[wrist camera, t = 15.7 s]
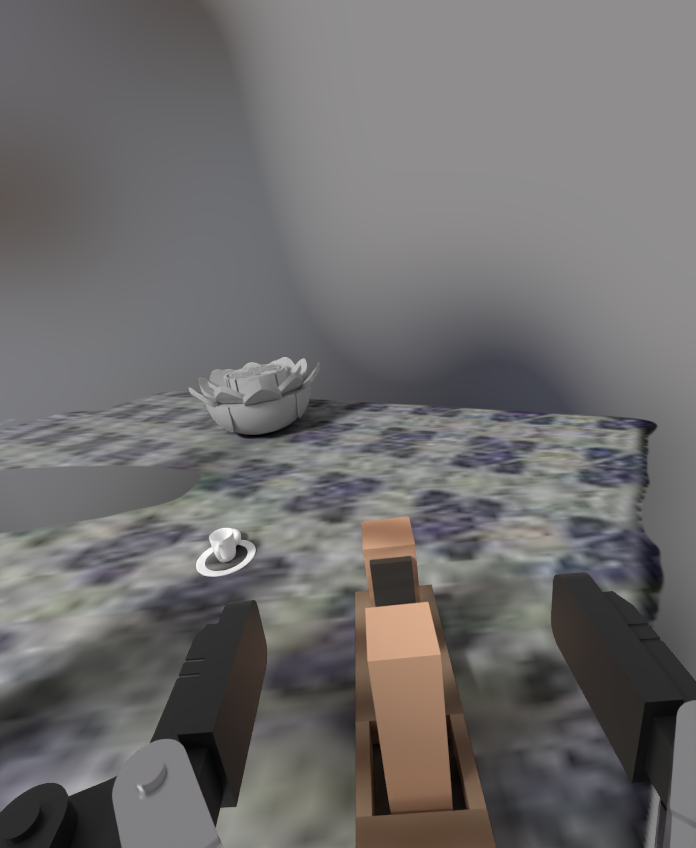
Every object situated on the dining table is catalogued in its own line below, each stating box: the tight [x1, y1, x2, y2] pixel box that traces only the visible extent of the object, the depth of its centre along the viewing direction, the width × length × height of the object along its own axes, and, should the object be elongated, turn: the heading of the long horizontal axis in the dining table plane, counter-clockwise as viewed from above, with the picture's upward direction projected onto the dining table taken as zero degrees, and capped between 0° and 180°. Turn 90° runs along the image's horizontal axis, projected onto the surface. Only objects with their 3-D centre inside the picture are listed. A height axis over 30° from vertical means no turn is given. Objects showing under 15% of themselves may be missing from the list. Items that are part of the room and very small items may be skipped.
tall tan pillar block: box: [365, 602, 453, 815], centre depth 28 cm, size 5×4×14 cm
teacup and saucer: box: [196, 528, 256, 577], centre depth 59 cm, size 9×8×4 cm
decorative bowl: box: [189, 357, 320, 435], centre depth 108 cm, size 30×30×15 cm
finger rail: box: [355, 516, 496, 848], centre depth 33 cm, size 24×8×14 cm, turn 179°
